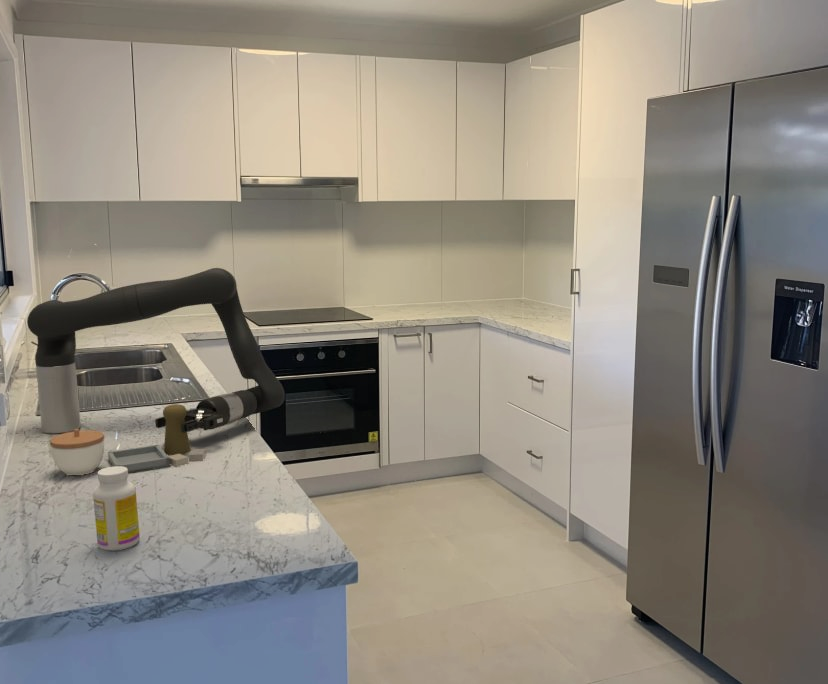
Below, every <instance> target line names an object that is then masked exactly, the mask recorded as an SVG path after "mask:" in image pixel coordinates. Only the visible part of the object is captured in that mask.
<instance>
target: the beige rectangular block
mask: <svg viewBox="0 0 828 684" xmlns="http://www.w3.org/2000/svg"><path fill="white" fill-rule="evenodd" d="M206 456H207V450H206V449H205V448H201V449H199V448H196V449H191V451H190V452H189V454H188V462H203V461H204V460H203V459H205V458H206Z"/></svg>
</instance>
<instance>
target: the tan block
mask: <svg viewBox="0 0 828 684" xmlns="http://www.w3.org/2000/svg"><path fill="white" fill-rule="evenodd" d="M167 456H168V457H169V458H170V464H171V465H170V466H173V467H175V466H176V467H175V468H177V466H178V467H181V465H182V466H186V465H189V456H186V455H185V454H176V455H167ZM185 464H186V465H185Z"/></svg>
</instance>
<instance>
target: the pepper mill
mask: <svg viewBox="0 0 828 684" xmlns="http://www.w3.org/2000/svg"><path fill="white" fill-rule="evenodd" d="M186 410H187V409H186V407H185V406H184V405H183V404H178V403H177V404H169V405H166V406H165V407H164V408H163V410H162V415H163V416H162V417H164V418H165V420H166V426H165V430H164V445H163V451H164V452H165V453H166V454H167V456H172V455H176V454H181V455H185V454H188V453H190V452H191V451H192V448H191V445H190V444H191V443H190V439H189V435H188V432H186V433H183V432H181V424H182V423H184V422H185V419H184V418H185V417H186Z"/></svg>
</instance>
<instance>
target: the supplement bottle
mask: <svg viewBox="0 0 828 684" xmlns="http://www.w3.org/2000/svg"><path fill="white" fill-rule="evenodd" d="M128 477H129V474H128V469H127V468H126V467H122V466H115V467H112V466H108V467H103V468H102V469H100V470H98V471H97V480H98V482H99V484H98V485H97V486H96V487H95V488H94V490H93V493H92V496H93V497H92V499H93V507H94V509H93V511H94V518H95V519H94V520H95V530H96V531H95V532H96V538H97V539H96V540H97V546H98V547H99V548H100V549H101V550H104V551H108V550H112V551H111V552H114V551H121V550H122V551H123V550H126V549H129V548H132V547H133V546H135V545H137V543H138V542H140V541H139V540H140V538H141V537H140V525H139V524H140V523H139V512H138V501H137V491H136V486H135V484H134V483H132V481H129V480H128Z"/></svg>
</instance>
